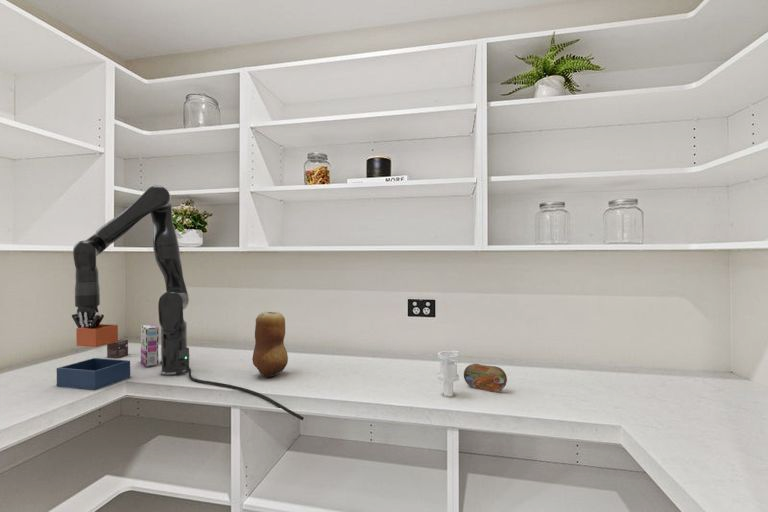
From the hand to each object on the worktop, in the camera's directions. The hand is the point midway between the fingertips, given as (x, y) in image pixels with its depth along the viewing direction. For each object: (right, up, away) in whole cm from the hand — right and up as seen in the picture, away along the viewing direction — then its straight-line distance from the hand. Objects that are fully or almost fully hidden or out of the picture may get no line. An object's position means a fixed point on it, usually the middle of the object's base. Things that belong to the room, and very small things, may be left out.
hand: (88, 339), depth 152 cm
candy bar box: (+9, -16, +24) cm, 30 cm away
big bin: (+3, -16, 0) cm, 16 cm away
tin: (+147, -16, -10) cm, 148 cm away
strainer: (+133, -16, -16) cm, 135 cm away
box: (-13, -16, +37) cm, 42 cm away
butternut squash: (+67, -16, +6) cm, 69 cm away
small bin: (+4, -2, -1) cm, 4 cm away
